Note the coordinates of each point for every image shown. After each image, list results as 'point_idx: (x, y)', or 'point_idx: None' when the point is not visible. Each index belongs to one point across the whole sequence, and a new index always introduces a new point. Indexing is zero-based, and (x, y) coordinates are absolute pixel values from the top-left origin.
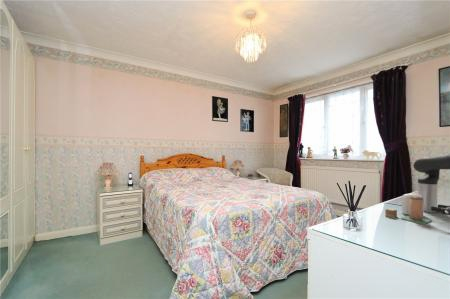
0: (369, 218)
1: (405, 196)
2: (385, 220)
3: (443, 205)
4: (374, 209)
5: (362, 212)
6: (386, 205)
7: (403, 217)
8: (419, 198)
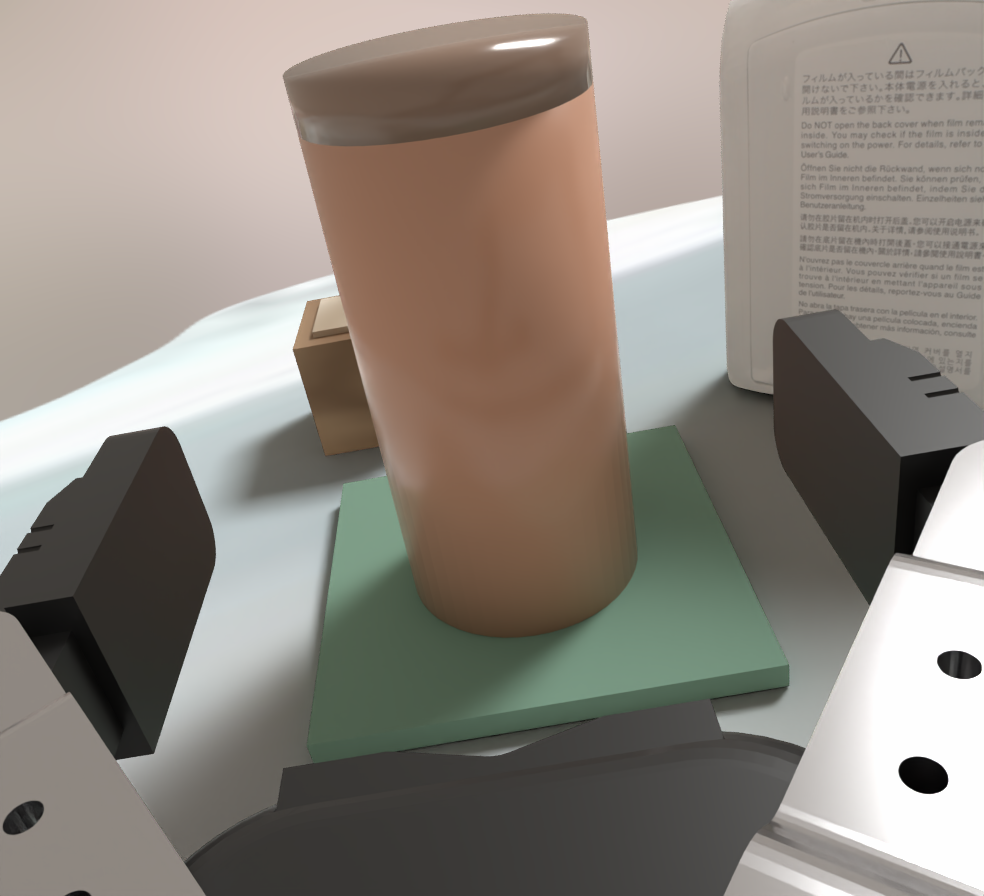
0: (16, 433)
1: (725, 26)
2: None
3: (839, 391)
4: None
5: (273, 308)
6: None
7: None
8: (317, 94)
